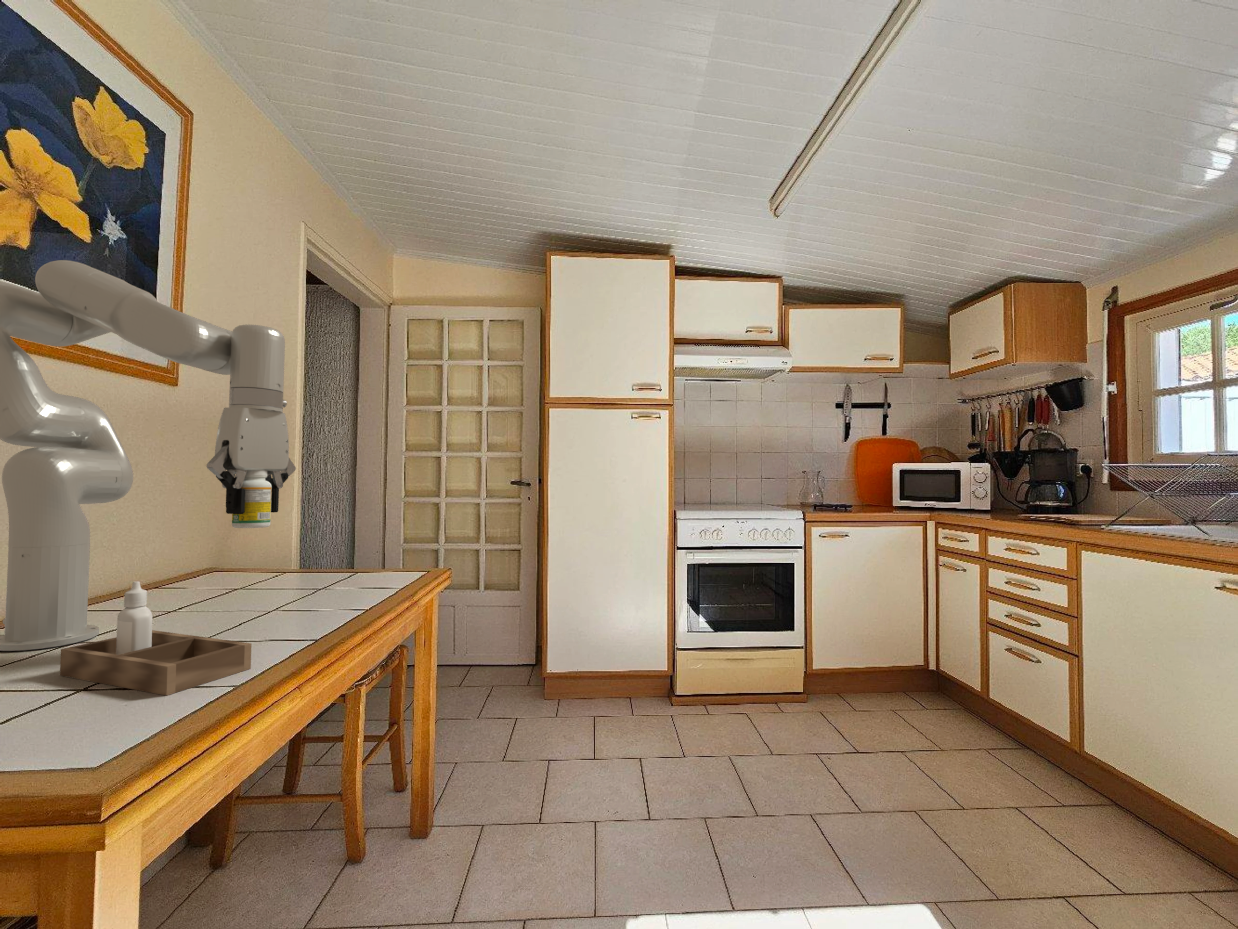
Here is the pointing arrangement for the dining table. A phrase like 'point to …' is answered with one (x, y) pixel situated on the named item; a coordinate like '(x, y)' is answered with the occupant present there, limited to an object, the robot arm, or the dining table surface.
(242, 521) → the supplement bottle
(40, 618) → the robot arm
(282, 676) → the dining table surface
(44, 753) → the dining table surface
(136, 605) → the eye dropper bottle
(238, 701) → the dining table surface
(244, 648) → the walnut rack
